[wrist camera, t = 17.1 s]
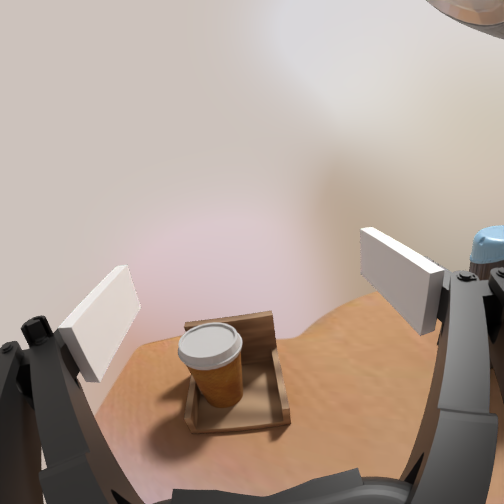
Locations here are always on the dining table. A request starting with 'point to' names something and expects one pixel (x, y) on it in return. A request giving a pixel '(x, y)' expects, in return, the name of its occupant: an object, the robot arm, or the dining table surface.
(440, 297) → the robot arm
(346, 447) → the dining table surface
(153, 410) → the dining table surface
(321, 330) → the dining table surface
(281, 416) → the cradle
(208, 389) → the disposable coffee cup
